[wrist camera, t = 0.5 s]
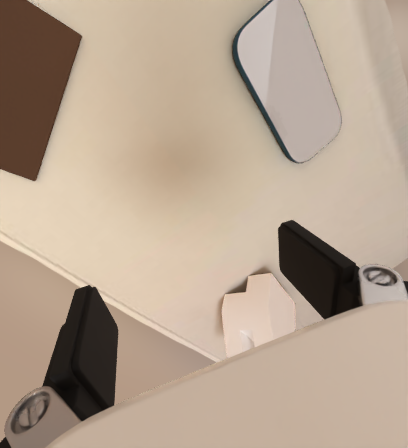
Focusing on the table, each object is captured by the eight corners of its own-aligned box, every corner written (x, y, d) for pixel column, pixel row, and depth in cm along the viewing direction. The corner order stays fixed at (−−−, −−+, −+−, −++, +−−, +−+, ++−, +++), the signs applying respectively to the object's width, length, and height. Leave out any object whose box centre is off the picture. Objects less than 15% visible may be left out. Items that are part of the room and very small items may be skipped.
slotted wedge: (228, 278, 57) (211, 359, 46) (271, 272, 51) (264, 364, 39) (254, 305, 64) (245, 381, 52) (295, 303, 58) (295, 389, 46)
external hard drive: (338, 127, 44) (347, 128, 42) (290, 168, 45) (297, 171, 43) (285, -15, 32) (293, -22, 31) (221, 45, 33) (226, 41, 32)
